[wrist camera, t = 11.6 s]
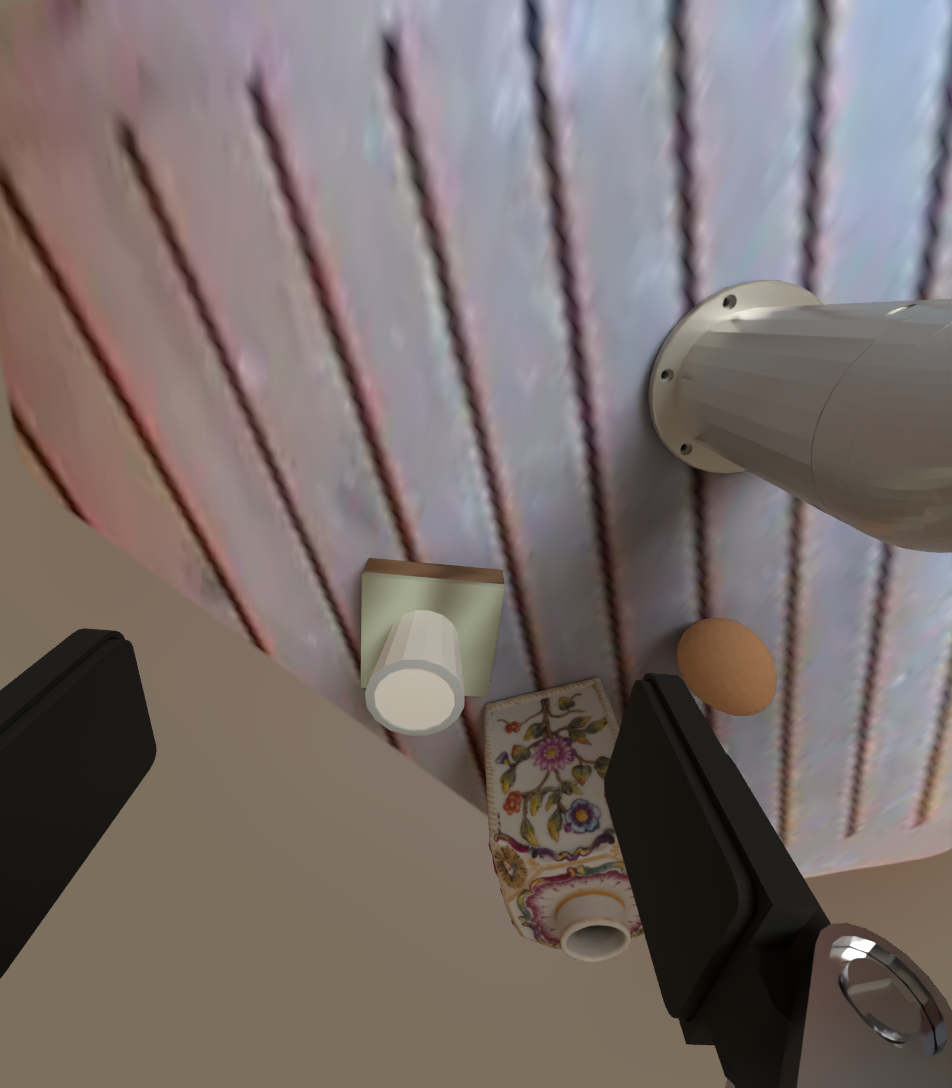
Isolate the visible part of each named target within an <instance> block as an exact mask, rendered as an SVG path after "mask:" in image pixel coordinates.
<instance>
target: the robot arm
mask: <svg viewBox="0 0 952 1088" xmlns="http://www.w3.org/2000/svg"><path fill="white" fill-rule="evenodd" d="M724 299H726V305H725V306H724V307H723V300H724ZM663 371H665V372H666V375H665V377H664V378H661V374H662V372H663ZM648 398H649V412H650V416H651V419H652V423H653V426H654V429H655V431H656V433H657V435H658V436H659V438H660V440H661V442H662V443H663V444H664V445H665V446H666V448H667V449H668V450H669V451H670V452H671V453H672V454H673V455H675V456H676V457H677V458H679V459H680V460H681V461H683V462H685V463H687V464H688V465H690V466H692V467H694V468H697V469H700V470H703V471H706V472H712V473H722V474H726V473H738V472H743V471H749V472H751V473H753V474H755V475H757V476H758V477H760V478H762V479H764V480H766V481H768V482H769V483H771V484H773V485H775V486H777V487H779V488H781V489H782V490H784V491H786V492H788V493H790V494H792V495H793V496H795V497H797V498H799V499H801V500H803V501H804V502H806V503H808V504H810V505H812V506H814V507H816V508H817V509H819V510H821V511H823V512H825V513H827V514H829V515H831V516H833V517H834V518H836V519H838V520H840V521H842V522H844V523H846V524H848V525H850V526H852V527H854V528H855V529H857V530H859V531H861V532H863V533H865V534H867V535H869V536H871V537H873V538H876V539H878V540H880V541H883V542H885V543H888V544H891V545H895V546H898V547H901V548H905V549H911V550H917V551H925V552H936V553H951V552H952V299H937V300H915V301H893V302H871V303H849V304H826V305H824V304H823V303H822V302H821V301H820V300H819V299H818V298H816V297H815V296H814V295H813V294H812V293H811V292H809V291H807V290H805V289H803V288H801V287H800V286H798V285H795V284H791V283H787V282H783V281H779V280H758V281H751V282H744V283H741V284H737V285H734V286H730V287H727V288H724V289H722V290H720V291H718V292H717V293H715V294H713V295H711V296H709V297H707V298H706V299H704V300H703V301H701V302H700V303H699V304H697V305H696V306H695V307H693V308H692V309H691V310H690V311H689V312H688V313H687V314H686V315H685V316H684V317H683V318H682V319H681V320H680V321H679V322H678V323H677V324H676V325H675V327H674V328H673V330H672V331H671V333H670V334H669V335H668V337H667V338H666V340H665V341H664V343H663V345H662V347H661V349H660V351H659V353H658V356H657V358H656V360H655V363H654V367H653V370H652V374H651V377H650V385H649V394H648ZM682 445H684V448H683V449H681V450H680V448H681V446H682ZM155 756H156V743H155V739H154V735H153V731H152V726H151V722H150V718H149V713H148V709H147V705H146V701H145V696H144V692H143V688H142V683H141V679H140V675H139V671H138V666H137V662H136V658H135V653H134V650H133V646H132V644H131V642H130V641H128V640H125V638H124V636H123V635H122V634H121V633H120V632H117V631H110V630H97V629H79V630H77V631H76V632H74V633H72V634H71V635H70V636H69V637H67V638H66V639H65V640H64V641H62V642H61V643H60V644H59V645H57V646H56V647H55V648H53V649H52V650H51V651H50V652H48V653H47V654H46V655H45V656H44V657H42V658H41V659H40V660H38V661H37V662H36V663H34V664H33V665H32V666H31V667H30V668H28V669H27V670H26V671H24V672H23V673H22V674H21V675H19V676H18V677H17V678H16V679H14V680H13V681H12V682H10V683H9V684H8V685H7V686H5V687H4V688H3V689H2V690H0V978H1V977H2V976H3V975H4V973H5V972H6V971H7V969H8V968H9V966H10V965H11V963H12V962H13V961H14V959H15V958H16V956H17V955H18V954H19V952H20V951H21V949H22V948H23V947H24V945H25V944H26V942H27V941H28V940H29V938H30V937H31V935H32V934H33V933H34V931H35V930H36V928H37V927H38V926H39V924H40V923H41V921H42V920H43V919H44V917H45V916H46V914H47V913H48V912H49V910H50V909H51V907H52V906H53V904H54V903H55V902H56V900H57V899H58V898H59V896H60V895H61V893H62V892H63V891H64V889H65V887H66V886H67V885H68V883H69V882H70V881H71V879H72V878H73V876H74V875H75V874H76V872H77V871H78V869H79V868H80V867H81V865H82V864H83V862H84V861H85V860H86V858H87V857H88V855H89V854H90V853H91V851H92V850H93V848H94V847H95V846H96V844H97V842H98V841H99V840H100V839H101V837H102V836H103V834H104V833H105V831H106V830H107V829H108V827H109V826H110V824H111V823H112V821H113V820H114V819H115V817H116V816H117V815H118V813H119V812H120V810H121V809H122V808H123V806H124V805H125V803H126V802H127V800H128V799H129V798H130V796H131V795H132V794H133V792H134V791H135V789H136V788H137V787H138V785H139V784H140V782H141V781H142V779H143V778H144V776H145V775H146V774H147V772H148V771H149V770H150V768H151V766H152V764H153V762H154V760H155ZM604 792H605V798H606V801H607V805H608V808H609V812H610V815H611V819H612V822H613V826H614V829H615V833H616V836H617V840H618V843H619V847H620V850H621V854H622V857H623V861H624V864H625V868H626V871H627V875H628V878H629V882H630V885H631V889H632V892H633V896H634V899H635V903H636V906H637V910H638V913H639V917H640V920H641V924H642V927H643V931H644V934H645V938H646V941H647V945H648V948H649V951H650V955H651V959H652V962H653V965H654V969H655V973H656V976H657V980H658V983H659V987H660V990H661V994H662V997H663V1000H664V1003H665V1006H666V1008H667V1010H668V1013H669V1014H670V1015H671V1016H672V1017H673V1018H679V1021H680V1025H681V1028H682V1031H683V1035H684V1038H685V1041H686V1044H693V1045H715V1048H716V1050H717V1054H718V1056H719V1059H720V1062H721V1065H722V1068H723V1071H724V1074H725V1076H726V1077H727V1082H726V1086H725V1088H952V1010H951V1008H950V1006H949V1004H948V1002H947V1000H946V999H945V997H944V996H943V995H942V993H941V992H940V991H939V989H938V988H937V987H936V985H935V984H934V983H933V981H932V980H931V979H930V978H929V976H928V975H927V974H926V973H925V972H924V971H923V970H922V969H921V968H920V967H919V966H918V965H917V964H916V963H915V962H914V961H913V960H912V959H911V958H910V957H909V956H908V955H907V954H905V953H904V952H903V951H901V950H900V949H899V948H897V947H896V946H894V945H893V944H892V943H890V942H889V941H888V940H886V939H885V938H883V937H881V936H879V935H878V934H876V933H874V932H872V931H870V930H868V929H866V928H863V927H860V926H856V925H853V924H849V923H833V924H831V923H830V922H829V920H828V918H827V917H826V915H825V913H824V912H823V910H822V909H821V907H820V905H819V903H818V902H817V900H816V898H815V897H814V895H813V893H812V892H811V890H810V888H809V887H808V885H807V883H806V882H805V880H804V878H803V877H802V875H801V873H800V872H799V870H798V868H797V867H796V865H795V863H794V862H793V860H792V858H791V857H790V855H789V853H788V852H787V850H786V848H785V847H784V845H783V843H782V842H781V840H780V838H779V837H778V835H777V833H776V832H775V830H774V828H773V827H772V825H771V823H770V822H769V820H768V818H767V817H766V815H765V813H764V812H763V810H762V808H761V807H760V805H759V803H758V802H757V800H756V798H755V797H754V795H753V793H752V792H751V790H750V788H749V787H748V785H747V783H746V782H745V780H744V778H743V777H742V775H741V773H740V772H739V770H738V768H737V767H736V765H735V763H734V762H733V761H732V759H731V758H730V757H729V755H727V754H726V753H725V751H724V749H723V748H722V746H721V744H720V742H719V741H718V739H717V737H716V736H715V734H714V732H713V731H712V729H711V727H710V726H709V724H708V722H707V721H706V719H705V717H704V716H703V714H702V712H701V710H700V709H699V707H698V705H697V704H696V702H695V700H694V699H693V697H692V695H691V694H690V692H689V690H688V689H687V687H686V685H685V684H684V682H683V680H682V679H681V678H680V677H679V676H677V675H666V674H654V673H648V674H646V675H645V676H644V678H643V680H637V681H636V682H635V683H634V685H633V688H632V692H631V695H630V698H629V701H628V704H627V708H626V711H625V714H624V717H623V720H622V723H621V727H620V730H619V733H618V736H617V739H616V743H615V746H614V749H613V752H612V755H611V758H610V762H609V765H608V768H607V771H606V774H605V779H604Z"/></svg>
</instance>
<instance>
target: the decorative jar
mask: <svg viewBox="0 0 952 1088" xmlns="http://www.w3.org/2000/svg"><path fill="white" fill-rule="evenodd" d="M619 730H620V728H619V725H618V722H617V720H616V717H615V715H614V712H613V709H612V707H611V704H610V702H609V700H608V697H607V694H606V692H605V689H604V687H603V684H602V682H601V680H600V679H599V678H598V677H595V678H593V679H589V680H584V681H581V682H576V683H571V684H567V685H563V686H559V687H554V688H550V689H546V690H541V691H538V692H533V693H529V694H523V695H519V696H516V697H512V698H508V699H504V700H500V701H497V702H492V703H489V704H486V705H485V709H484V737H485V739H484V743H485V768H486V785H487V803H488V821H489V822H488V823H489V831H490V834H489V836H490V839H489V848H490V850H491V853H492V857H493V864H494V869H495V872H496V874H497V876H498V878H499V881H500V886H501V889H500V890H501V893H502V896H503V899H504V903H505V905H506V908H507V910H508V913H509V916H510V918H511V920H512V921H511V922H512V924H513V925H514V927H515V928H516V929H517V930H518V932H519V934H520V935H521V936H522V937H524V938H528V939H530V940H532V941H535V942H538V943H540V944H543V945H546V946H549V947H552V948H557V949H562V950H563V951H564V952H565V953H566V954H567V955H568V956H570V957H572V958H574V959H577V960H580V961H584V962H602V961H605V960H609V959H612V958H615V957H616V956H618V955H620V954H622V953H623V952H624V951H625V950H626V949H627V948H628V946H629V945H630V941H632V940H634V939H635V938H636V937H637V936H640V935H643V934H644V931H643V927H642V924H641V920H640V917H639V913H638V910H637V906H636V903H635V899H634V896H633V892H632V889H631V885H630V882H629V878H628V875H627V871H626V868H625V864H624V861H623V857H622V854H621V850H620V847H619V843H618V840H617V836H616V833H615V829H614V826H613V822H612V819H611V815H610V812H609V808H608V805H607V801H606V798H605V792H604V779H605V774H606V771H607V768H608V765H609V762H610V758H611V755H612V752H613V749H614V746H615V743H616V739H617V736H618V733H619Z"/></svg>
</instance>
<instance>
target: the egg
mask: <svg viewBox="0 0 952 1088" xmlns="http://www.w3.org/2000/svg"><path fill="white" fill-rule="evenodd" d="M677 662H678V666H679V670H680V673H681V675H682V677H683V679H684V680H685V682H686V684H687V685H688V687H689V688H690V689H691V691H692V692H693V693H694V694H695V695H696V696H697V697H699V698H700V699H701V700H702V701H704V702H705V703H707V704H708V705H710V706H712V707H713V708H715V709H717V710H720V711H722V712H725V713H728V714H731V715H736V716H748V715H752V714H755V713H758V712H760V711H762V710H763V709H764V708H765V707H766V706H768V705H769V704H770V702H771V701H772V699H773V697H774V694H775V692H776V682H777V678H776V671H775V666H774V662H773V659H772V657H771V654H770V652H769V651H768V649H767V648H766V646H765V644H764V643H763V642H762V641H761V639H760V638H759V637H758V636H757V635H756V634H755V633H754V632H752V631H751V630H750V629H749V628H747V627H745V626H744V625H742V624H740V623H738V622H736V621H732V620H729V619H724V618H709V619H704V620H701V621H698V622H696V623H695V624H693V625H692V626H690V627H689V628H688V629H687V630H686V631H685V632H684V634H683V635H682V637H681V639H680V641H679V643H678V648H677Z"/></svg>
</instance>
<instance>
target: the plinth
mask: <svg viewBox="0 0 952 1088" xmlns="http://www.w3.org/2000/svg"><path fill="white" fill-rule="evenodd" d="M504 591H505V585H504V578H503V571H502V570H496V569H485V568H474V567H463V566H452V565H441V564H430V563H419V562H408V561H397V560H385V559H374V558H369V560H368V562H367V565H366V567H365V569H364V572H363V574H362V607H361V688H367V686H368V683H369V681H370V679H371V676H372V674H373V671H374V669H375V667H376V664H377V662H378V659H379V657H380V655H381V652H382V650H383V647H384V645H385V643H386V640H387V638H388V635H389V633H390V631H391V628H392V626H393V623H394V622H395V621H397V620H398V619H399V618H400V617H401V616H402V615H404V614H407V613H409V612H412V611H415V610H430V611H433V612H436V613H439V614H441V615H443V616H444V617H446V618H447V619H448V620H449V621H450V622H452V623H453V625H454V627H455V629H456V631H457V633H458V641H459V650H460V659H461V667H462V676H463V685H464V696H476V697H488V695H489V688H490V682H491V675H492V669H493V662H494V656H495V649H496V643H497V636H498V630H499V623H500V617H501V610H502V604H503V597H504Z"/></svg>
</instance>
